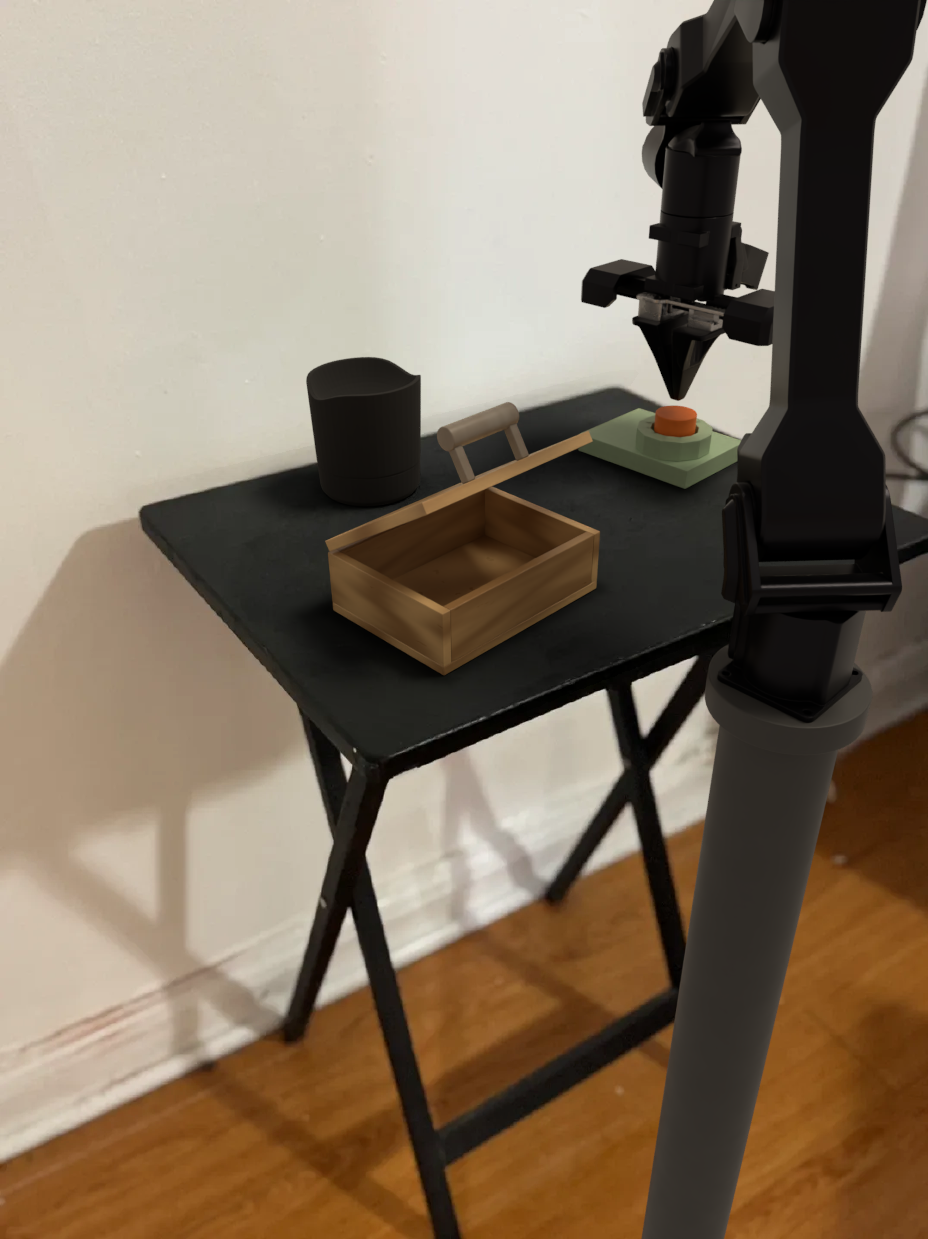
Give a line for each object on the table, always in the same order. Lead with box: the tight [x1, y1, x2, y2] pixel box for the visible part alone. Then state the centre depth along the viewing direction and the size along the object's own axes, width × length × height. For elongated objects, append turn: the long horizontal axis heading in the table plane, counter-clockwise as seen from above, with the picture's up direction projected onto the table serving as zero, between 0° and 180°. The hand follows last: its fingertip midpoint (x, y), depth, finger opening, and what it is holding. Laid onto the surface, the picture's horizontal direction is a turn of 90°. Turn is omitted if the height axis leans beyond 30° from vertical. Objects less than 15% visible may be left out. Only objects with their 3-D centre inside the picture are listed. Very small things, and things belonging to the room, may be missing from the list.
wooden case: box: [327, 486, 601, 676], centre depth 74 cm, size 11×15×5 cm
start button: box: [654, 405, 698, 437], centre depth 92 cm, size 4×4×2 cm
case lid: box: [324, 401, 593, 552], centre depth 71 cm, size 12×15×5 cm
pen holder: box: [305, 356, 422, 507], centre depth 89 cm, size 9×9×10 cm
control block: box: [578, 407, 742, 490], centre depth 95 cm, size 12×9×4 cm
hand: (677, 398), depth 91 cm, fingers closed
